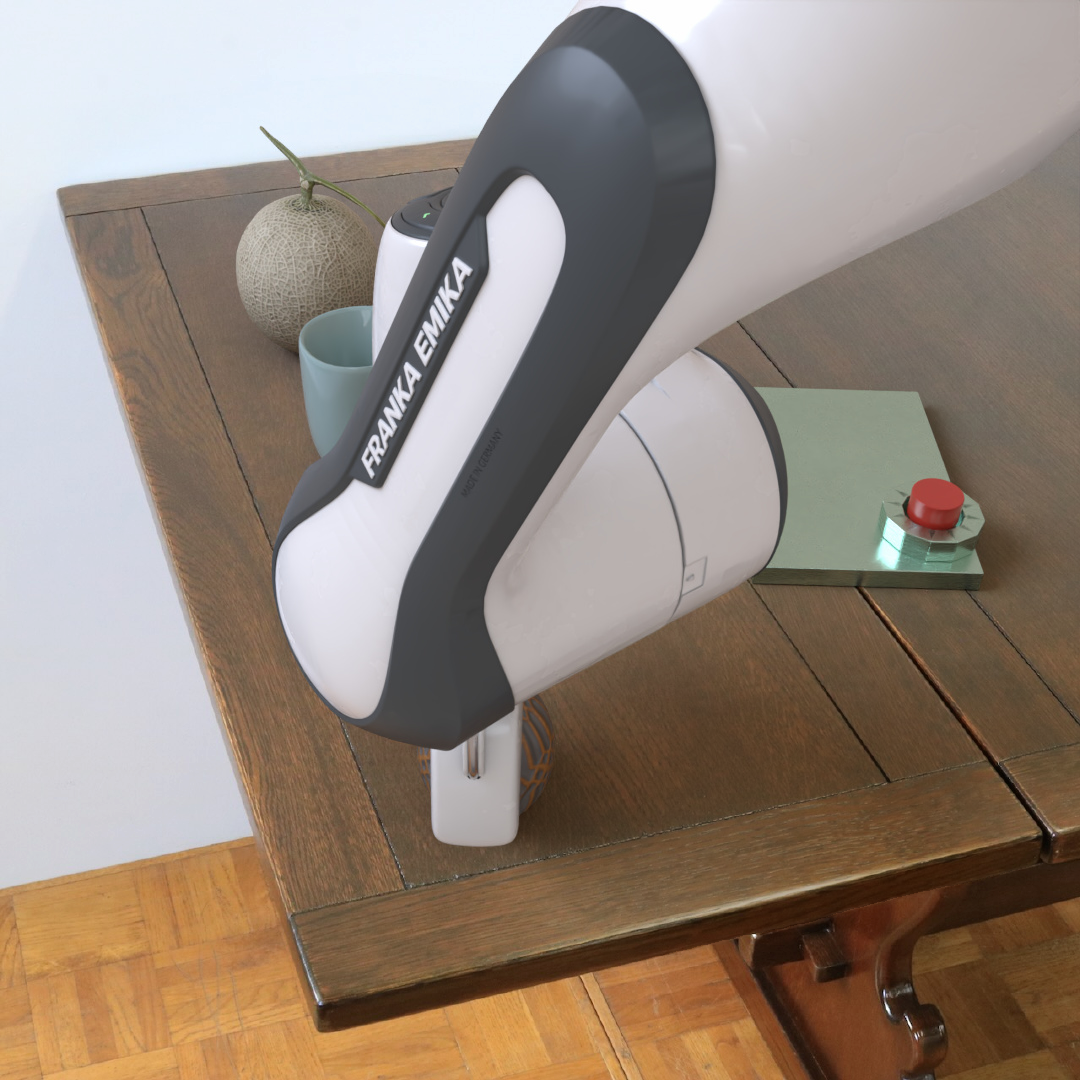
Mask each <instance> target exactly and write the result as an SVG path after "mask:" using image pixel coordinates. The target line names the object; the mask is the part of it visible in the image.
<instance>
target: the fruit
mask: <svg viewBox="0 0 1080 1080" xmlns="http://www.w3.org/2000/svg"><path fill="white" fill-rule="evenodd" d="M259 130H260V131H261V133H262V134H263V135H264V136H265V137H266V138H267V139H268V140H269V141H270V142H271V143H272V144H273V146H275V147H276V148H277V149H278V151H280V152H281V154H283V155H284V156H285V157H286V158H287V159H288V160H289V162H290V163H291V164H292V165H293V166H294V168H295V169H296V171H297V173H298V176H299V184H300V193H295V194H292V195H287V196H284V197H281V198H278V199H276V200H274V201H272V202H270V203H268V204H266V205H265V206H263V207H262V208H261V209H260V210H259V211H258V212H257V213H256V214H255V215H254V217H253V218H252V219H251V221H249V223H248V224H247V226H246V227H245V230H244V232H243V233H242V235H241V237H240V241H239V243H238V246H237V248H236V249H237V250H236V254H235V255H236V256H235V276H236V284H237V289H238V292H239V297H240V299H241V302H242V305H243V307H244V309H245V311H246V313H247V316H248V317H249V319H250V320H251V322H252V323H253V324H254V325H255V326H256V328H257V329H258V330H259V332H261V333H262V335H264V336H265V337H266V338H267V339H268V340H270V341H271V342H273V343H274V344H275V345H278V346H279V347H281V348H283V349H285V350H288V351H290V352H294V353H296V354H299V347H298V341H299V335H300V332H301V330H302V329H303V327H304V326H305V324H307V323H308V322H309V321H310V320H311V319H313V318H315V317H317V316H319V315H321V314H324V313H326V312H329V311H333V310H336V309H340V308H346V307H353V306H373V293H374V280H375V271H376V263H377V257H378V251H379V249H378V247H377V244H376V241H375V236H374V235H373V234H372V233H371V231H370V230H369V228H368V226H367V224H366V223H365V222H364V220H363V219H362V218H361V217H360V216H359V214H357V212H355V211H354V210H352V209H351V208H350V207H349V206H348V205H347V204H345V203H344V202H343V201H341V200H339V199H336V198H335V197H332V196H329V195H325V194H318V193H313V191H314V187H315V185H320V186H323V187H324V188H326V189H329V190H332V191H333V192H336V193H337V194H339V195H341V196H343V197H344V198H346V199H347V200H349V201H351V202H352V203H354V204H355V205H357V206H359V207H360V208H361V209H363V210H364V211H366V212H367V213H368V214H369V215H370V216H371V217H372V218H373V219H375V220H376V221H377V222H378V223H379V225H380V226H381V227H382V228H383V229H385V226H386V224H387V222H385V221H384V220H383V219H382V218H381V217H380V216H379V215H378V214H377V213H376V212H374V210H372V209H371V208H370V207H369V206H368V205H366V204H365V203H364V202H362V200H360V199H359V198H358V197H356V196H354V195H353V194H351V193H350V192H348V191H346V190H345V189H343V188H341V187H340V186H338V185H336V184H335V183H333V182H330V181H328V180H326V179H324V178H322V177H320V176H318V175H316V174H315V173H313V172H312V171H311V170H309V169H308V168H307V167H306V166H305V165H304V163H303V162H302V160H300V159H299V157H297V155H295V154H294V153H293V152H292V151H291V150H290V149H289V148H288V147H287V146H286V145H284V144H283V143H282V142H281V141H280V140H278V139H277V138H276V137H274V136H273V135H272V134H271V133H270V132H269V131H268V130H267V129H266V128H265V127H264V126H262V125H260V126H259Z"/></svg>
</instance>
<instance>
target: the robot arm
mask: <svg viewBox="0 0 1080 1080" xmlns="http://www.w3.org/2000/svg"><path fill="white" fill-rule="evenodd" d="M1079 131H1080V0H578V1H577V2H576V3H575V5H574V6H573V8H571V10H570V12H569V13H568V15H567V16H566V18H565V19H564V20H563V21H562V22H560V23H559V24H558V25H557V26H556V27H554V29H553V30H552V31H551V32H550V34H548V36H547V37H546V38H545V39H544V40H543V42H542V43H541V44H540V46H539V47H538V48H537V50H535V52H534V53H533V54H532V56H531V57H530V58H529V60H528V61H527V63H525V65H524V67H522V69H521V70H520V71H519V73H518V74H517V75H516V77H515V78H514V79H513V80H512V81H511V83H510V84H509V85H508V87H507V88H506V90H505V91H504V93H503V94H502V95H501V97H500V98H499V100H498V101H497V103H496V105H494V108H493V109H492V111H491V113H490V114H489V116H488V117H487V119H486V121H485V123H484V125H483V126H482V128H481V131H480V132H479V134H478V135H477V138H476V140H475V141H474V143H473V145H472V147H471V150H470V151H469V153H468V155H467V156H466V159H465V161H464V163H463V165H462V167H461V169H460V171H459V173H458V175H457V178H456V180H455V181H454V184H453V185H450V186H448V187H445V188H441V189H438V190H435V191H433V192H429V193H426V194H423V195H420V196H418V197H417V198H416V197H415V198H414V199H412V200H409V201H407V203H406V204H405V205H403V206H402V207H400V208H399V209H398V210H396V211H395V212H394V213H393V214H392V215H391V216H390V218H389V219H388V221H387V222H386V226H385V228H383V233H382V235H381V239H380V243H379V247H378V257H377V263H376V271H375V280H374V293H373V315H372V360H373V368H372V370H371V372H370V375H369V377H368V379H367V381H366V384H365V386H364V388H363V390H362V393H361V395H360V397H359V400H358V402H357V404H356V406H355V409H354V411H353V413H352V415H351V417H350V420H349V422H348V424H347V426H346V428H345V430H344V432H343V434H342V435H341V437H340V439H339V440H338V442H337V443H336V445H335V446H334V447H333V449H332V450H331V451H330V452H329V453H328V454H326V455H325V456H324V457H322V458H318V459H316V460H315V461H314V462H311V464H310V465H308V466H307V467H306V468H305V470H304V471H303V472H302V474H301V477H300V479H299V481H298V482H297V484H296V486H295V488H294V489H293V492H292V494H291V496H290V499H289V501H288V503H287V505H286V508H285V509H284V513H283V515H282V517H281V521H280V524H279V528H278V531H277V534H276V537H275V541H274V544H273V545H274V546H273V550H272V555H271V584H272V592H273V598H274V602H275V608H276V612H277V615H278V619H279V623H280V625H281V628H282V631H283V634H284V637H285V639H286V643H287V645H288V647H289V649H290V652H291V655H292V656H293V658H294V660H295V663H296V664H297V666H298V668H299V670H300V672H301V674H302V675H303V677H304V679H305V680H306V682H307V683H308V685H309V686H310V688H311V689H312V691H313V692H314V693H315V695H316V696H317V697H318V699H319V700H320V701H321V702H322V703H323V704H324V706H326V707H327V708H328V710H330V711H331V712H332V713H333V714H334V715H335V716H336V717H338V718H339V719H341V720H342V721H344V722H345V723H348V724H350V725H351V726H354V727H356V728H358V729H361V730H363V731H366V732H368V733H371V734H373V735H377V736H379V737H381V738H385V739H388V740H392V741H395V742H398V743H399V742H400V743H402V744H403V743H404V744H406V745H412V746H416V747H417V746H419V747H424V748H430V766H431V794H430V816H431V817H430V818H431V829H432V833H433V835H434V838H436V839H437V840H438V841H439V842H441V843H443V844H447V845H452V846H460V847H473V848H474V847H477V848H479V847H480V848H483V847H484V848H486V847H487V848H489V847H500V846H505V845H508V844H510V843H512V842H513V841H514V840H515V839H516V837H517V835H518V831H519V825H520V815H519V803H520V775H521V748H522V721H523V702H524V701H526V700H527V699H529V698H531V697H533V696H535V695H537V694H538V695H539V694H541V693H543V692H544V691H546V690H548V689H550V688H552V687H554V686H556V685H558V684H559V683H561V682H563V681H565V680H568V679H569V678H571V677H573V676H575V675H576V674H579V673H580V672H582V671H584V670H587V669H589V668H590V667H592V666H594V665H596V664H598V663H600V662H601V661H604V660H605V659H607V658H609V657H611V656H612V655H615V654H617V653H619V652H621V651H622V650H624V649H627V647H630V646H631V645H634V644H635V643H638V642H639V641H641V640H643V639H645V638H647V637H649V636H650V635H651V636H652V635H653V634H655V633H656V632H657V631H659V630H660V629H662V628H663V627H665V626H668V625H669V624H671V623H672V622H674V621H677V620H678V619H680V618H682V617H684V616H686V615H688V614H690V613H692V612H694V611H696V610H697V609H699V608H701V607H703V606H705V605H707V604H709V603H710V602H712V601H714V600H716V599H718V598H719V597H721V596H723V595H725V594H727V593H728V592H731V591H732V590H734V589H735V588H737V587H739V586H740V585H742V584H743V583H744V582H746V581H748V580H749V579H752V577H754V576H756V575H758V574H759V573H761V572H762V571H763V570H764V569H765V568H766V567H767V566H768V564H769V563H770V561H771V560H772V558H773V556H774V554H775V552H776V549H777V547H778V545H779V542H780V539H781V536H782V532H783V529H784V524H785V519H786V513H787V503H788V477H787V468H786V461H785V455H784V451H783V447H782V443H781V439H780V435H779V432H778V429H777V426H776V423H775V421H774V418H773V416H772V414H771V412H770V410H769V408H768V406H767V404H766V402H765V401H764V399H763V398H762V397H761V395H760V394H759V393H758V392H757V390H756V389H755V388H754V387H755V386H753V384H751V383H750V382H749V380H748V379H746V378H745V377H744V375H742V374H741V373H740V372H738V371H737V370H736V369H735V368H734V367H732V366H730V364H727V363H726V362H725V361H723V360H722V359H720V358H719V357H717V356H715V355H713V354H712V353H709V352H708V351H706V350H704V349H702V348H700V347H699V345H702V343H704V342H706V341H707V340H708V339H710V338H711V337H713V336H715V335H716V334H718V333H720V332H721V331H723V330H725V329H726V328H728V327H730V326H731V325H733V324H735V323H736V322H738V321H740V320H742V319H743V318H746V317H747V316H749V315H750V314H753V313H754V312H756V311H758V310H759V309H761V308H763V307H765V306H767V305H769V304H770V303H772V302H774V301H776V300H778V299H780V298H782V297H784V296H786V295H788V294H789V293H791V292H794V291H796V290H798V289H799V288H801V287H804V286H806V285H808V284H810V283H811V282H814V281H815V280H818V279H819V278H821V277H824V276H825V275H827V274H830V273H832V272H834V271H835V270H838V269H840V268H842V267H844V266H847V265H848V264H850V263H852V262H854V261H856V260H858V259H861V258H863V257H866V256H868V255H870V254H872V253H873V252H875V251H877V250H880V249H882V248H883V247H886V246H888V245H890V244H892V243H895V242H897V241H899V240H901V239H903V238H906V237H907V236H909V235H912V234H914V233H915V232H918V231H920V230H923V229H925V228H927V227H928V226H931V225H933V224H935V223H938V222H939V221H942V220H943V219H946V218H947V217H949V216H952V215H954V214H956V213H958V212H960V211H962V210H964V209H966V208H968V207H970V206H972V205H974V204H976V203H978V202H980V201H982V200H984V199H986V198H988V197H989V196H991V195H994V194H996V193H997V192H999V191H1001V190H1003V189H1004V188H1006V187H1008V186H1010V185H1011V184H1013V183H1015V182H1017V181H1018V180H1019V179H1021V178H1023V177H1024V176H1026V175H1027V174H1028V173H1030V172H1032V171H1033V170H1034V169H1036V167H1038V166H1039V165H1041V164H1042V163H1043V162H1045V161H1046V160H1047V159H1048V158H1049V157H1050V156H1052V155H1053V154H1054V153H1055V152H1056V151H1057V150H1058V149H1059V148H1060V147H1062V146H1064V144H1066V143H1067V142H1068V141H1069V140H1070V139H1071V138H1073V137H1074V136H1075V135H1076V134H1077V133H1078V132H1079Z"/></svg>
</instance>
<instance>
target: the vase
mask: <svg viewBox="0 0 1080 1080" xmlns="http://www.w3.org/2000/svg"><path fill="white" fill-rule="evenodd" d="M555 752H556V737H555V730H554V725H553V721H552V719H551V716H550V713H549V710H548V708H547V706H546V704H545V702H544V701H543V699H542V697H541V696H540V695H539V694H537V695H535V696H533V697H531V698H529V699H527V700H526V701H524V702H523V721H522V748H521V775H520V803H519V816H520V815H522V814H524V812H526V811H527V810H528V809H530V808H531V807H532V806H533V805H534V804H535V802H537V800H538V799H539V798H540V796H541V795H542V793H543V792H544V790H545V788H546V786H547V785H548V782H549V779H550V777H551V774H552V771H553V766H554V761H555ZM416 756H417V757H416V759H417V764H418V769H419V773H420V776H421V779H422V781H423V783H424V786H425V788H426V790H427V791H428V793H429V794H430V795H431V766H430V748H424V747H419V746H416Z"/></svg>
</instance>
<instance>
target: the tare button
mask: <svg viewBox="0 0 1080 1080" xmlns="http://www.w3.org/2000/svg"><path fill="white" fill-rule="evenodd" d="M962 491H963V490H962V489H961V488H960V487H959V486H958V485H956V484H955V483H953V482H952V481H950V482H949V481H946V480H943V479H937V478H927V479H922V480H920V481H918V482H916V483H915V484H914V485H913V487H912V491H911V495H910V498H909V502H908V506H907V515H908V517H909V519H910V520H911V521H913V522H914V523H915V524H917V525H920V526H923V527H926V528H929V529H932V530H949V529H952V528H953V527H955V526H956V525H957V523H958V521H959V518H960V514H961V511H962V507H963V504H964V500H965V497H964V494H963V492H964V491H963V492H962Z"/></svg>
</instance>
